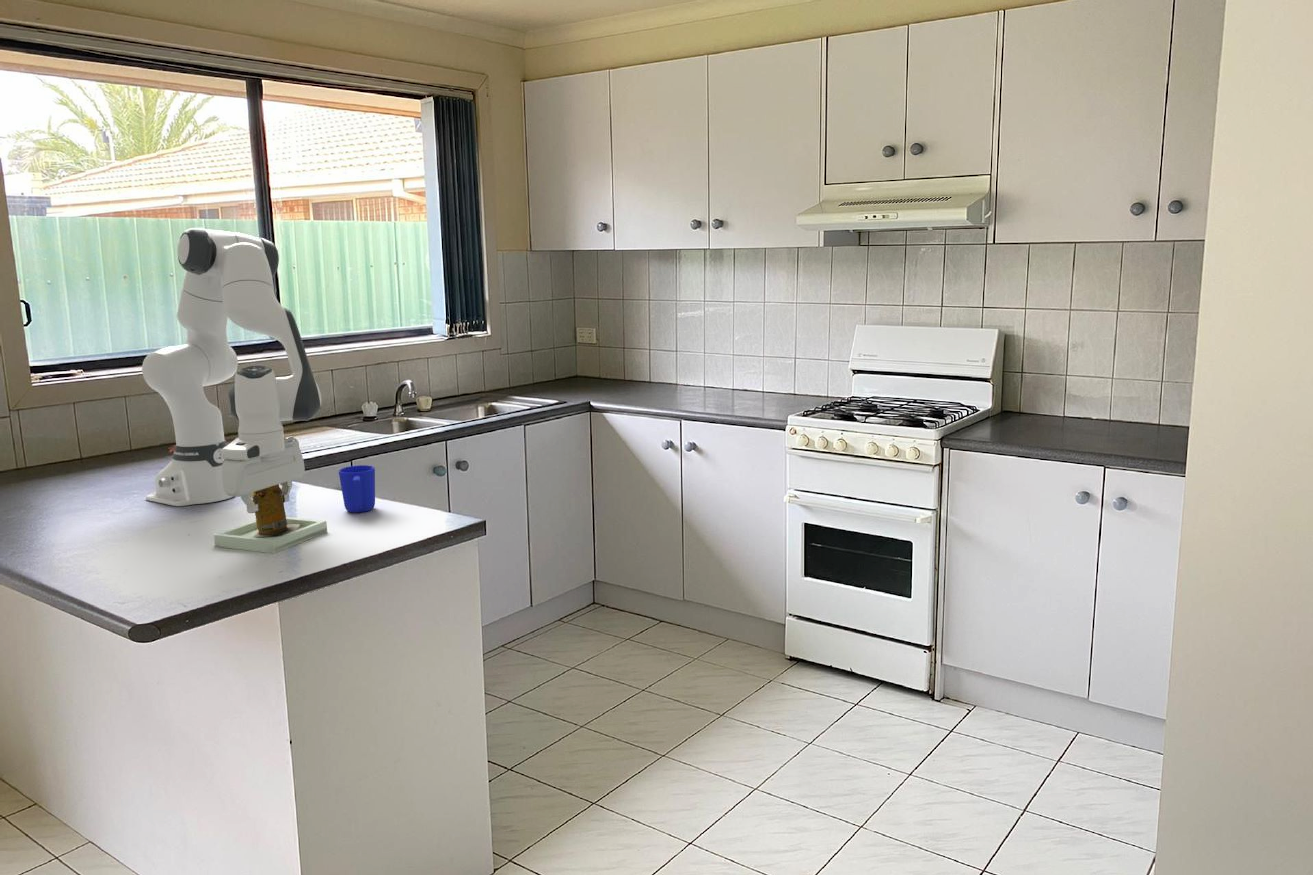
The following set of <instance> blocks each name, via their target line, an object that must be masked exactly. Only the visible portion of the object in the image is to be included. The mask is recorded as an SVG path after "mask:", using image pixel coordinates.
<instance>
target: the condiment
mask: <svg viewBox="0 0 1313 875" xmlns="http://www.w3.org/2000/svg"><path fill="white" fill-rule="evenodd" d="M281 489H282V487H280V484H278V485H275V486H272V487H269V488H265V489H262V490H259V491H256V492H253V498H252V500H253V502H254V504H258V512H255V513H254V516H255V520H256V523H257V528H258V532H257V533H256V534H255V535H254V536H253V537H263V536H264V537H265V536H272V535H280V534H287V533H291V532H293V531H296V530H297V528H298V527H299V526H300V524H301V523H300V524H290V525H287V520H286V517H287V514H286V510H285V509H286V508H285V503H284V502H283V496H282V490H281Z"/></svg>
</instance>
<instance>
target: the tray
mask: <svg viewBox="0 0 1313 875" xmlns="http://www.w3.org/2000/svg"><path fill="white" fill-rule="evenodd" d="M286 520H287V525H290V524H300V523H301V524H300V526H299V527H298V528H297V530H296V531H293V532H291V533H287V534H280V535H272V536H265V537H264V536H263V537H253V536H254V535H255V534H256V533H257V532H258V528H257V523H256V519H255V520H253V521H252V520H251V521H249V522H247V523H243V524H240V525H238V526H236V527H232V528H230V529H227V530H224V531H221V532H218V533H215V534H213V538H214V541H213V542H214V547H219V548H226V549H236V550H244V551H252V552H261V553H268V554H276V553H278V552H281V551H283V550H285V549H288V548H290V547H293V546H295V545H298V544H301V543H303V542H305V541H308V540H310V539H313V538H316V537H318V536H321V535H323V534H325V533H328V526H327V520H320V519H309V518H300V517H291V516H290V517H289V516H286Z"/></svg>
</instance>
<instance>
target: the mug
mask: <svg viewBox="0 0 1313 875" xmlns="http://www.w3.org/2000/svg"><path fill="white" fill-rule="evenodd" d="M338 478H339V482H340V486H341V487H340V488H341V494H342V499H343V500H342V501H343V505H344V508H345V510H346V511H347V512H349V513H352V514H353V513H365V512H369V511H371V510H373V509H374V508H375V505H376V468H375V466H373V465H368V464H367V465H363V464H361V465H360V464H359V465H351V466H345V467H342V468H340V469H339V470H338Z"/></svg>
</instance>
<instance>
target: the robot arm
mask: <svg viewBox="0 0 1313 875" xmlns="http://www.w3.org/2000/svg"><path fill="white" fill-rule="evenodd" d="M276 246H277V245H275V243H274V242H272V241H271V240H267V239H266V238H263V237H258V236H257V237H255V236H253V235H248V234H245V233H241V232H237V231H224V230H217V229H205V228H204V227H192V228H188V229H186V230H185V231H184V232H183V233H182V234H181V236H180V238H179V241H178V244H177V259H178V263H179V264H180V266H181V267H182V269H183V270H185V271H186V272H185V276H184V280H183V284H182V289H181V294H180V298H179V302H178V308H177V314H176V318H177V321H178V322H179V324H180V325H181V326H182V327H183V328H184V329H186V331H187V333H186V334H187V340H186V342H185V343H184V344H180V345H179V344H178V345H172V346H165V347H162V348H160V349H157V350H155V351H153V352H150V353H149V354H147V355H146V357H145V358H144V359H143V362H142V366H141V371H142V372H141V373H142V377H143V379H144V381H145V383H146V384H147V385H148V386H149V387H150V388H151V389H152V390H154V391H155V392H157V393H158V394H159V395H160V396H161V397H162V398H163V400H164V402H165V403H166V405H167V408H168V409H169V412H170V414H171V418H172V422H173V428H174V436H175V443H176V444H175V445H174V446H171V447H168V449H169V451H168V452H169V453H172V452H173V454H172V459H171V461H170V462H168V464H167V465H166V466H164V468H162V469H161V470H160V471H159V472H158V473H157V474H156V476H155V481H154V482H155V484H154V485H155V491H154V492H151V493H149V494H148V495H146V496H145V497H146V498H145V499H146V500H147V501H150V502H155V503H159V504H163V505H164V504H165V505H169V506H174V507H183V506H190V505H196V504H197V505H200V504H207V503H209V504H210V503H215V502H219V501H223V500H228V499H231V498H234V497H237V498H238V497H239V498H240V499H241V500H242V502H243V504H244V505H245V506H246V513H247V514H255V512H258V504H254V502H253V499H252V498H253V492H256V491H259V490H262V489H265V488H269V487H272V486H275V485H278V484H279V486H281V490H282V496H283V502H284V504H285V503H287V502H290V493H291V490H292V487H293V480H296V479H300V478H302V477H304V475H305V472H306V470H305V463H304V458H303V453H302V450H301V447H300V442H299V440H298V439H297V438H295V437H294V436H292V435H291V436H288V437H285V436H284V434H285V433H284V427H283V423H282V422H284V421H285V422H286V421H294V422H295V421H305V422H306V421H310V420H312V419H313V418H314V417H315V416H316V415H318V413H319V412H320V410H321V408H322V401H323V400H322V393H321V390H320V388H319V385H318V383H317V381H316V379H315V377H314V374H313V371H312V368H311V366H310V365H311V364H310V362H309V359H308V356H307V352H306V349H305V345H304V343H303V340H302V336H301V334H300V333H301V332H300V331H299V327H298V325H297V322H296V320H295V317H294V314H293V313H292V311H291V310H290V309H287V308H285V307H284V306H282V304H280V302H279V301H278V299H277V297H276V293H275V285H274V279H273V278H274V277H275V275H276V273H277V272H278V269H279V262H280V258H279V257H280V255H279V251H278V249H277V247H276ZM228 320H230V321H231V322H232V323H234V324H235V326H238V327H240V328H242V329H244V330H246V331H249V332H254V333H257V334H261V335H263V336H264V335H265V336H267V337H270V338H272V339H275V340H276V341H278V342H279V343H280V344H281V345H282V346H283V349H285V350H284V351H285V354H286V357H287V360H288V363H289V367H290V370H291V372H292V374H290V375H288V376H287V375H286V376H278V377H276V374H275V371H274V370H273V369H272V368H271V367H269V366H264V365H248V366H246V367H242V368H240V369H238V366H239V362H238V361H239V360H238V356H237V353H236V351H235V350H234V349H233V347H231V346H230V344H229V342H228V336H227V324H228ZM234 375H235V377H234V385H233V386H232V387H231V388H230V389H229V391H228V398H229V405H230V415H231V416H232V417H233V418H235V419H236V420H238V429H237V434H238V436H237V437H236V438H235V439H234V440H232V441H231V442H230V443H227V440H226V439H225V434H224V425H223V423H224V422H223V416H222V411H221V409H220V408H219V407H218V406H217V405H215V404H213V403H211V402H210V401H209V400H208V398H207V396H206V395H205V391H204V388H205V387H209V386H213V385H218V384H220V383H223V382H225V381H227V380H229V379H230V378H232V377H233V376H234Z"/></svg>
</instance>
